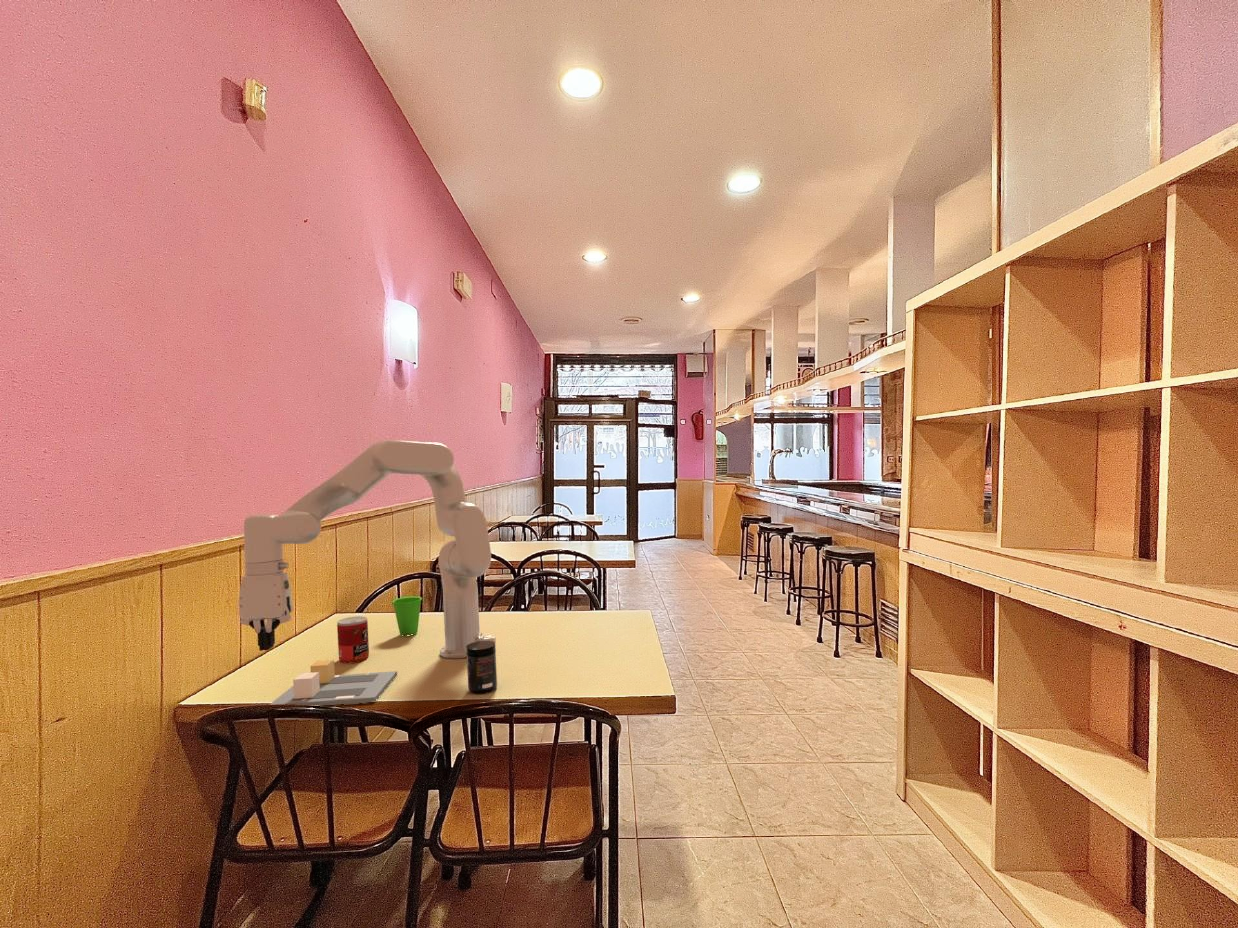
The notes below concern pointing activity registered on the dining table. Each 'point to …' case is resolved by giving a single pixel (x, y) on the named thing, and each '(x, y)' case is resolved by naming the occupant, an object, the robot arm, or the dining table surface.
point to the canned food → (353, 639)
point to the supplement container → (481, 667)
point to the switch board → (344, 690)
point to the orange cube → (324, 670)
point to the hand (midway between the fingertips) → (266, 648)
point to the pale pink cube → (306, 685)
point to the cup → (407, 614)
